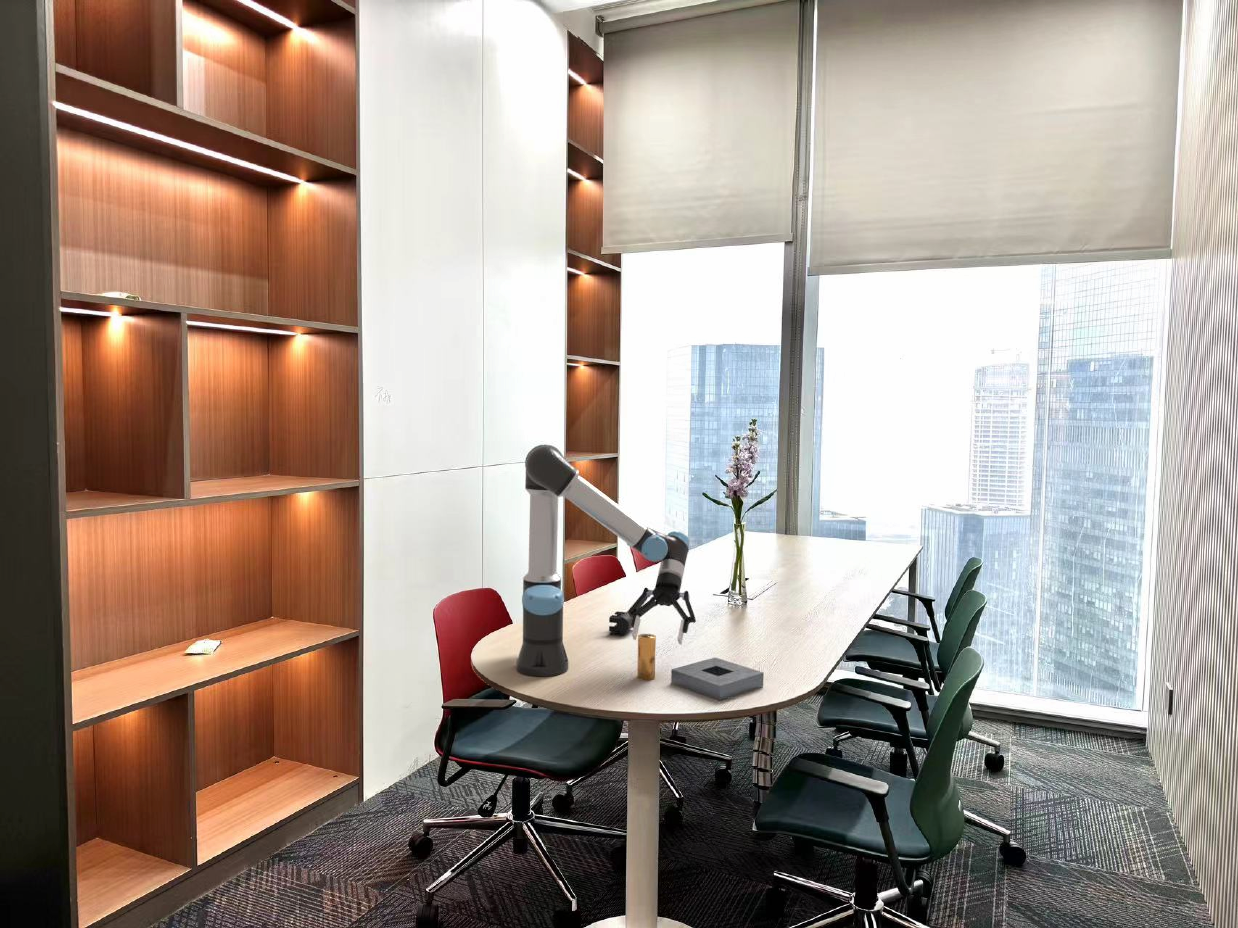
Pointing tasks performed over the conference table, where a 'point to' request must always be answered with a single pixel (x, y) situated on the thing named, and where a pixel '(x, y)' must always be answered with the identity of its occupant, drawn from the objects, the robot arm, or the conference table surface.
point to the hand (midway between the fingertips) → (656, 639)
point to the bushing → (646, 657)
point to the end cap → (620, 623)
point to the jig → (717, 678)
